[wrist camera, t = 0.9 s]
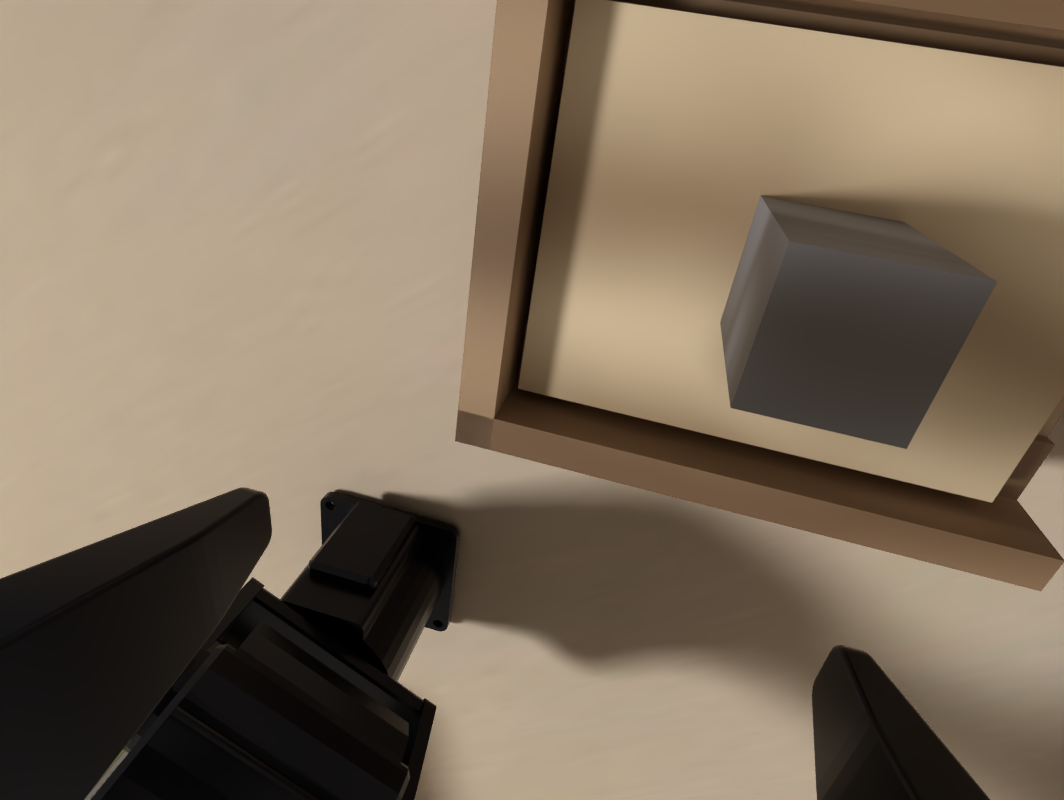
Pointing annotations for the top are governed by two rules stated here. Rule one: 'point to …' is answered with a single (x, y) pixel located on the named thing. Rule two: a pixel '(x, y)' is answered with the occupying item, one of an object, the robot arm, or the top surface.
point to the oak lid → (805, 243)
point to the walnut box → (680, 454)
